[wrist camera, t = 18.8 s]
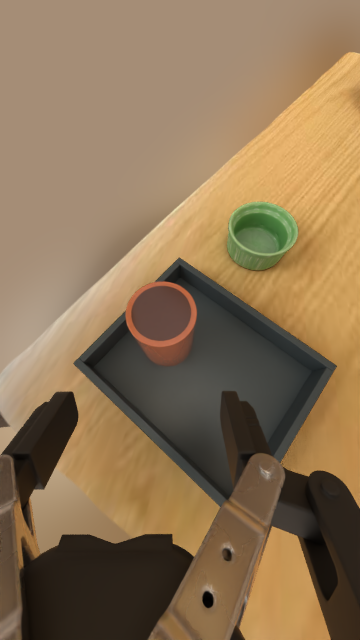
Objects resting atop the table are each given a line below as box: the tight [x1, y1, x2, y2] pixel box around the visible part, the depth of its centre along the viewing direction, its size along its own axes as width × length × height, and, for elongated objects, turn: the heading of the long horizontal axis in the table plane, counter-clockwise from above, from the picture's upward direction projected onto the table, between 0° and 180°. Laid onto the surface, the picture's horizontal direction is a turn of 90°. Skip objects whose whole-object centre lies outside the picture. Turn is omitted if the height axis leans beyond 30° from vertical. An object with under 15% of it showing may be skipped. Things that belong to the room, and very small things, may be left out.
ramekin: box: [227, 202, 298, 270], centre depth 32 cm, size 9×9×4 cm
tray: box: [74, 258, 337, 507], centre depth 26 cm, size 18×22×4 cm
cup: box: [126, 281, 197, 367], centre depth 24 cm, size 6×6×9 cm
